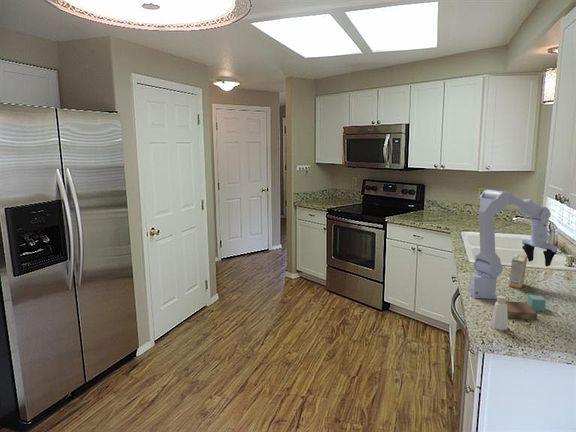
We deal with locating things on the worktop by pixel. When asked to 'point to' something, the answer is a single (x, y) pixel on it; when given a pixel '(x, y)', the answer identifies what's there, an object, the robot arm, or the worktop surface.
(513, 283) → the supplement box
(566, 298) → the worktop surface
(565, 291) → the worktop surface
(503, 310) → the pepper shaker
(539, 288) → the worktop surface
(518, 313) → the walnut block
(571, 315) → the worktop surface
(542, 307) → the teal cube
